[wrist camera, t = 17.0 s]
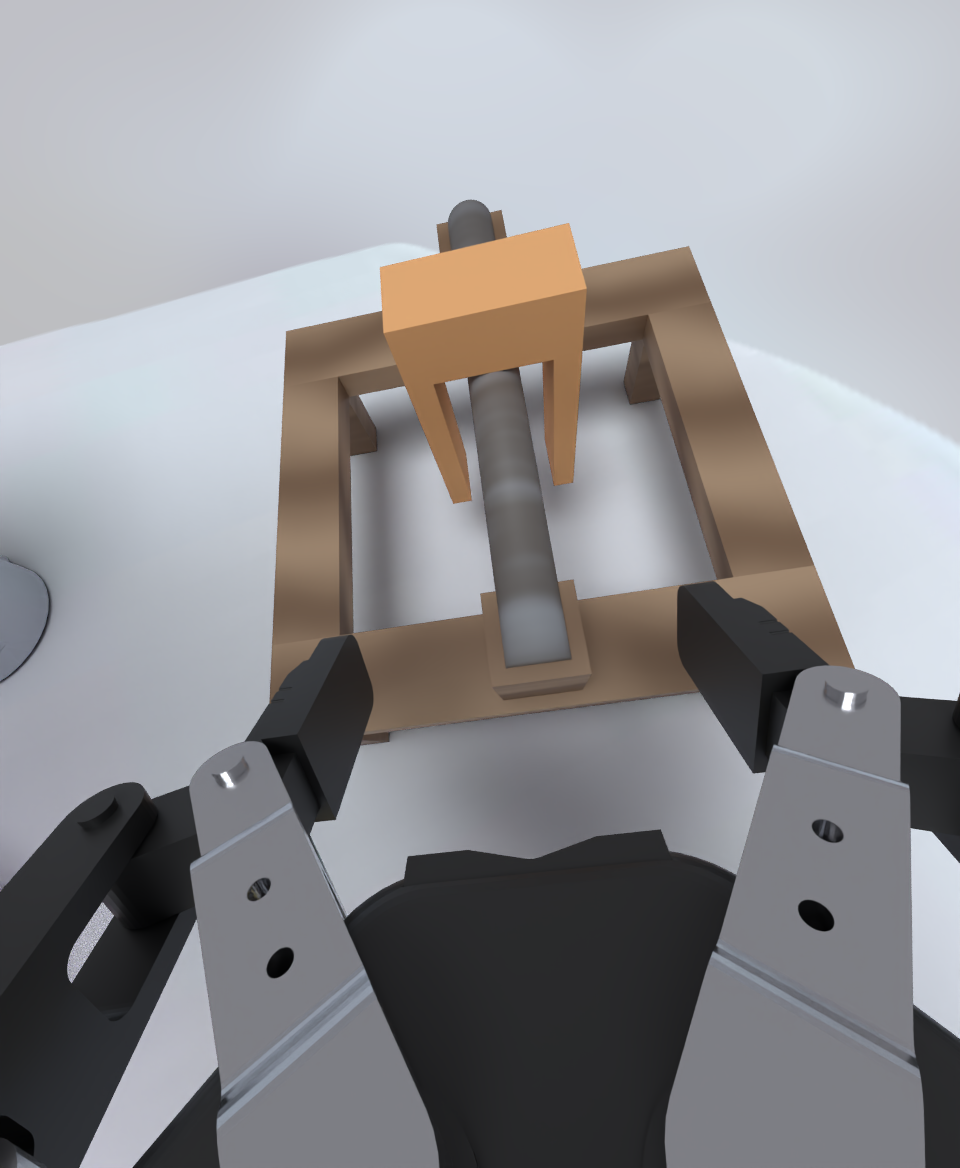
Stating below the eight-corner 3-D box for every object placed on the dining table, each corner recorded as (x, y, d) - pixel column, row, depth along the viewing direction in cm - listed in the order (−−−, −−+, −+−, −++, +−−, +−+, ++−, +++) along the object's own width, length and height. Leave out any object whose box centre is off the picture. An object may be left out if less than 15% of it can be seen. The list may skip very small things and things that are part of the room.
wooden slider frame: (751, 696, 25) (976, 637, 12) (355, 745, 27) (172, 741, 14) (652, 376, 33) (722, 125, 19) (350, 433, 34) (229, 240, 21)
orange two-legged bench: (573, 482, 24) (586, 288, 14) (453, 503, 25) (383, 333, 15) (562, 435, 25) (569, 223, 15) (448, 457, 26) (380, 267, 16)
